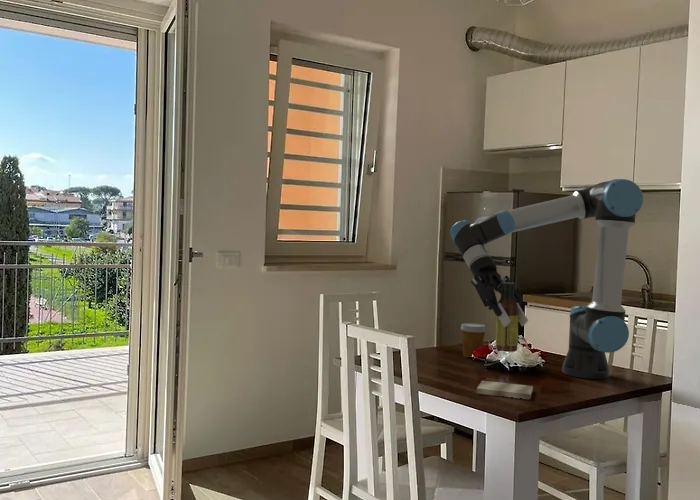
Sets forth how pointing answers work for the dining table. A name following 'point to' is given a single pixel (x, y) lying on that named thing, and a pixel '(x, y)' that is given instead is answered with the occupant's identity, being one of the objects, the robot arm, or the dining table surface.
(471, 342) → the disposable coffee cup
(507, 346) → the sauce bottle
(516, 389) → the birch board
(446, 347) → the dining table surface
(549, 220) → the robot arm
